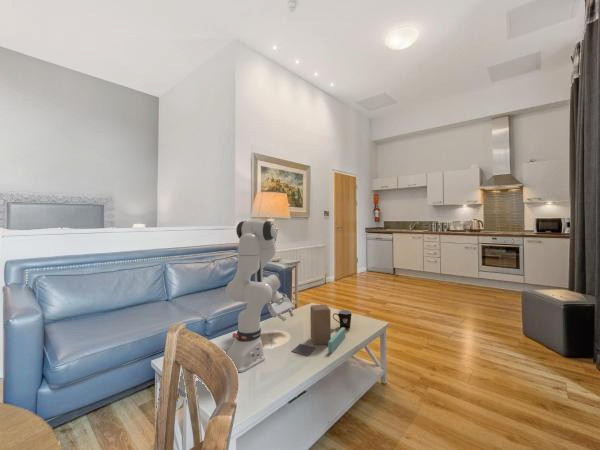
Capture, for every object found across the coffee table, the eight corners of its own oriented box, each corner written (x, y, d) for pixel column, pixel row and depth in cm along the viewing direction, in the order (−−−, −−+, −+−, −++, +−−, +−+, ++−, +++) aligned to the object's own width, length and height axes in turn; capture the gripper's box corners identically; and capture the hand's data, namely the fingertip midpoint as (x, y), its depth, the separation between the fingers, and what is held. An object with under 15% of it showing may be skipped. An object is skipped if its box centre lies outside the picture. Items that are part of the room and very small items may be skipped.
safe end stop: (331, 353, 145) (331, 342, 145) (328, 352, 146) (328, 341, 146) (345, 337, 165) (345, 327, 164) (342, 337, 165) (342, 327, 165)
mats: (308, 356, 143) (308, 355, 143) (291, 351, 147) (291, 351, 147) (334, 330, 176) (334, 329, 176) (320, 327, 181) (320, 326, 181)
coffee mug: (353, 326, 182) (353, 311, 182) (348, 330, 175) (348, 315, 175) (338, 322, 189) (337, 308, 189) (332, 326, 182) (332, 311, 182)
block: (331, 344, 156) (330, 309, 156) (313, 345, 155) (313, 310, 154) (326, 336, 166) (326, 303, 166) (310, 338, 165) (310, 304, 164)
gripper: (269, 300, 164) (282, 320, 159) (286, 293, 182) (299, 310, 177) (262, 307, 166) (276, 326, 161) (281, 299, 184) (293, 316, 179)
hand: (288, 318), depth 169 cm, fingers open, 8 cm apart
